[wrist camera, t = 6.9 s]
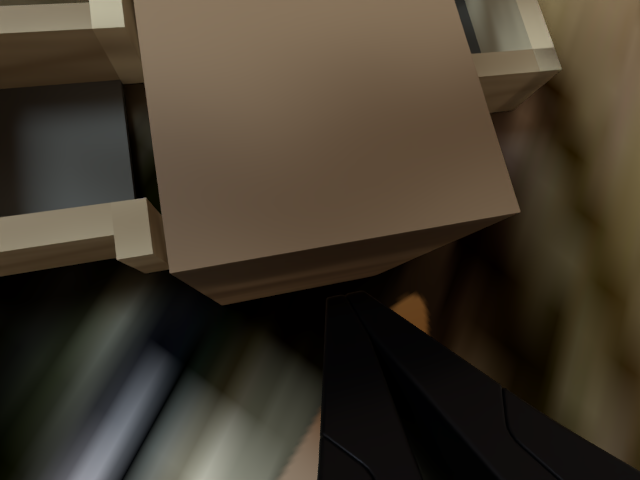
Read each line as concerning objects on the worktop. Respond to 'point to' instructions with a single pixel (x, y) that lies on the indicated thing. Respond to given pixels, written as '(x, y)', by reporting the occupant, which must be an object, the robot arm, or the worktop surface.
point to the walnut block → (314, 139)
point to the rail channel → (112, 127)
